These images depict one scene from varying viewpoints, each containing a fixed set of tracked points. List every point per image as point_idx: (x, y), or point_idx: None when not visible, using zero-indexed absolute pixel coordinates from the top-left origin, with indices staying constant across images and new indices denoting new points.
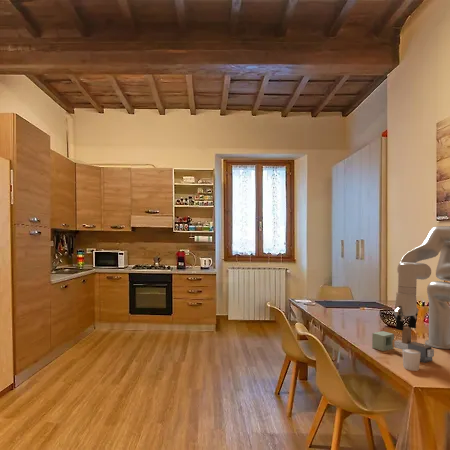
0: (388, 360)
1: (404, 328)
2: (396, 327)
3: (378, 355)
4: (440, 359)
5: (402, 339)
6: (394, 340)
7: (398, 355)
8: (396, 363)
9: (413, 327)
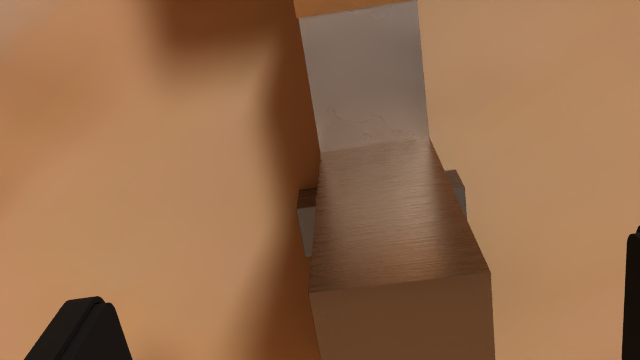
0: (20, 185)
1: (318, 334)
2: (61, 325)
3: (17, 7)
4: (588, 344)
5: (321, 178)
6: (303, 10)
7: (270, 97)
8: (42, 276)
9: (627, 349)
